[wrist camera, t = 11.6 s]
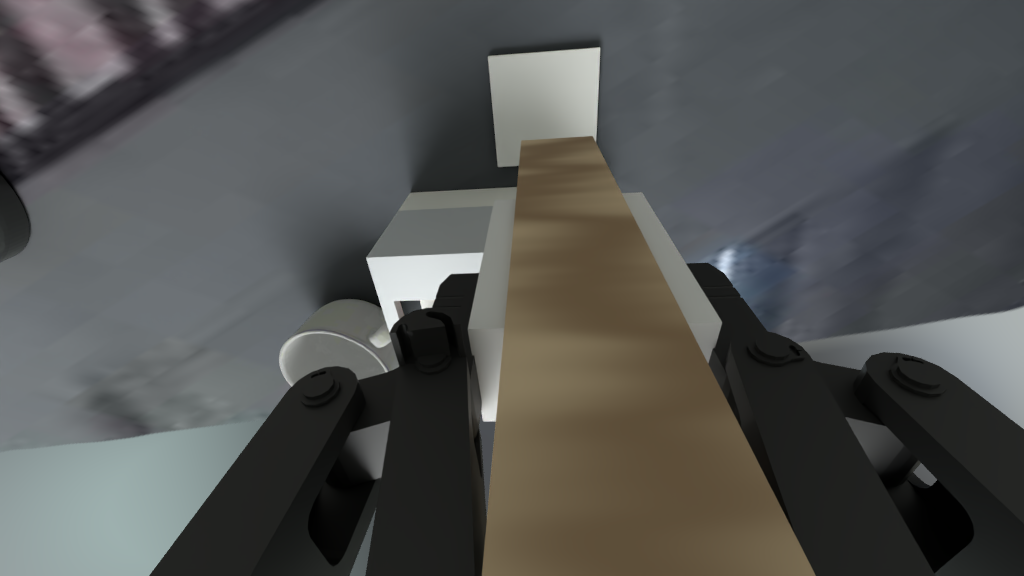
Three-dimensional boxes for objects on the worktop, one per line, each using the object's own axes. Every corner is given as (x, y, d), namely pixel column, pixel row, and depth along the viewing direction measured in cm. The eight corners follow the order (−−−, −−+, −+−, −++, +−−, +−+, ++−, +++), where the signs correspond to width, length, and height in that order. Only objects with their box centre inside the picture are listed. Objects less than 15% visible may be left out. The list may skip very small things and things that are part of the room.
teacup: (362, 372, 49) (335, 428, 42) (293, 309, 44) (250, 362, 37) (455, 328, 44) (442, 383, 38) (390, 253, 39) (361, 301, 33)
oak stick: (525, 206, 20) (503, 758, 5) (521, 140, 18) (471, 687, 3) (590, 203, 20) (765, 772, 5) (592, 135, 18) (881, 703, 3)
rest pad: (498, 164, 34) (497, 167, 33) (488, 55, 30) (487, 56, 29) (594, 159, 33) (595, 161, 33) (599, 47, 29) (600, 47, 28)
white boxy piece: (436, 310, 43) (408, 395, 33) (410, 192, 36) (366, 257, 26) (588, 304, 42) (605, 391, 32) (593, 182, 35) (617, 246, 25)
